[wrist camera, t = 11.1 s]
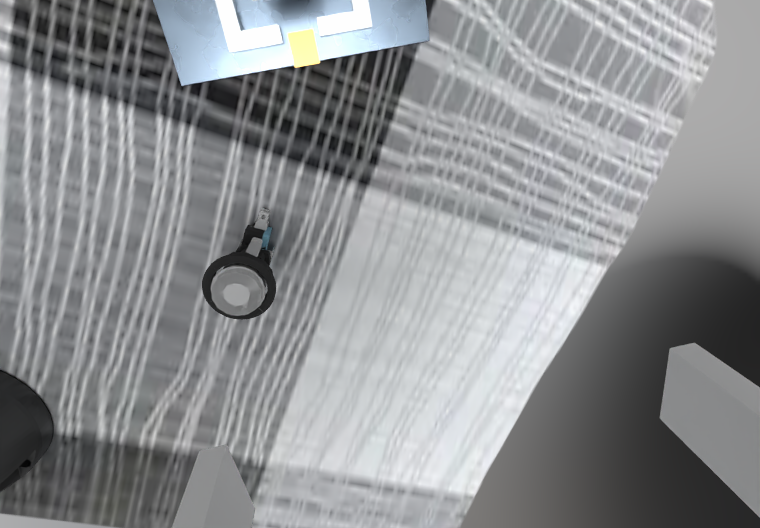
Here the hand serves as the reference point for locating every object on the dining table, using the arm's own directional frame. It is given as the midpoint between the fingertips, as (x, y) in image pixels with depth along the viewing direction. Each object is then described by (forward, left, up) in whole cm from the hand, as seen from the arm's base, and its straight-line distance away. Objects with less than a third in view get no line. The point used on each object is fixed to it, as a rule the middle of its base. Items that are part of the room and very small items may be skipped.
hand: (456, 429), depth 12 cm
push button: (-11, -2, -29) cm, 31 cm away
